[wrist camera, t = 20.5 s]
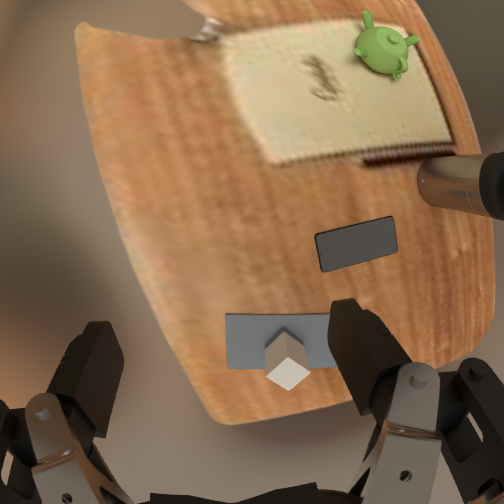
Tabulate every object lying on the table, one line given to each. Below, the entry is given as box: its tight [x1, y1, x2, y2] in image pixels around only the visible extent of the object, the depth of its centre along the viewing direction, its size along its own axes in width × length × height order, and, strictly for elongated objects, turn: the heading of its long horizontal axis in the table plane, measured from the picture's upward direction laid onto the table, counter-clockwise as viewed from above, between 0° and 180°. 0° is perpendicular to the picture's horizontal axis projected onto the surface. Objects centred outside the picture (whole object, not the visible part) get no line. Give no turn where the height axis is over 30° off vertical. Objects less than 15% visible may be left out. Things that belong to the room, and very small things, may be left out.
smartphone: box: [315, 216, 398, 272], centre depth 47 cm, size 7×1×15 cm
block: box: [265, 326, 311, 391], centre depth 46 cm, size 5×5×10 cm
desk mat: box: [225, 313, 338, 369], centre depth 51 cm, size 22×12×1 cm, turn 90°
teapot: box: [354, 11, 420, 79], centre depth 35 cm, size 11×12×8 cm
